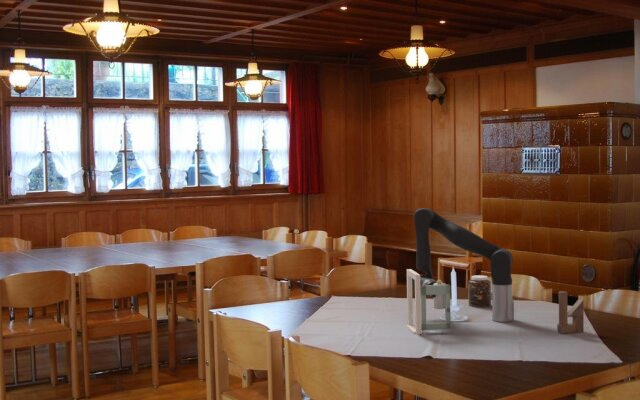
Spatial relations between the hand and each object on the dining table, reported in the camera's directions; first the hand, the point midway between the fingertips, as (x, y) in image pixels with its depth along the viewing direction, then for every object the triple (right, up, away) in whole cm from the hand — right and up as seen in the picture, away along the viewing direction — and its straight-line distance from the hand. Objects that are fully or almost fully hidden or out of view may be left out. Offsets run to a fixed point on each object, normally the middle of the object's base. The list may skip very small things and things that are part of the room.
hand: (441, 294), depth 349 cm
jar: (+29, -13, +57) cm, 65 cm away
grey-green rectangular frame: (-2, -15, -2) cm, 16 cm away
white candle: (0, -6, +3) cm, 7 cm away
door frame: (-11, -16, +4) cm, 20 cm away
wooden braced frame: (+55, -16, -8) cm, 58 cm away
